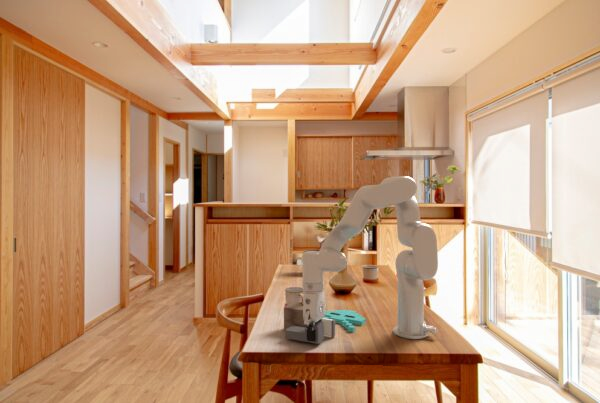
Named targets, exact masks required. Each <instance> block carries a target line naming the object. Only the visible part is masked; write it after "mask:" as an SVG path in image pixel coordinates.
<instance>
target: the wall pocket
mask: <svg viewBox="0 0 600 403" xmlns="http://www.w3.org/2000/svg"><path fill="white" fill-rule="evenodd" d="M290 326H298V327H304V318H303V305H297V304H292V303H290V304H288V305H286V306H284V307H283V332H285V330H286V329H287V328H289V327H290Z"/></svg>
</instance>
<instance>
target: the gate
mask: <svg viewBox="0 0 600 403" xmlns="http://www.w3.org/2000/svg"><path fill="white" fill-rule="evenodd" d="M309 320H312V319H309ZM322 321H323V322H324V337H325V336H326V337H331V338H335V336H336V323H335V320H334V319H333V320H332V319H326V318H322ZM304 328H305V325H304Z"/></svg>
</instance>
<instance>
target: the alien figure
mask: <svg viewBox="0 0 600 403" xmlns="http://www.w3.org/2000/svg"><path fill="white" fill-rule="evenodd" d="M323 318H326V319H332V320H333V319H334V320H335V324H340V325H341V327H343V328H344V330H347V332H348V333H354V332H356V326H355V325H357V326H360V327H361V326H364V325H365V324H366V322H367V319H366V318H365V317H363V315H360V313H358V312H357V311H356V310H348V309H341V310H339V309H335V310H326V315H325V316H324V317H323Z"/></svg>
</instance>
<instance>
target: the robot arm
mask: <svg viewBox="0 0 600 403" xmlns="http://www.w3.org/2000/svg"><path fill="white" fill-rule="evenodd" d="M417 185H418V184H417V183H416V180H414V179H413V178H412V177H410V176H407V175H400V176H399V175H398V176H390V177H386V178H385V179H383V180H381V182H380V183H379V184H378V183H377V184H371V185H363V186H361V187H360V188H358V189H357V190H356V192H355V194H354V196H353V198H352V199H351V201H350V204H349V205H348V207H347V209H346V210H345V211H344V212H345V213H344V214H343V216H342V218H341V219H340V221H338V223H337V224H336V225H335V226H334V227H333V229H331V231H330V232H329V233H328V235H327V236H326V238H325V239H324V240H323V243H322V245H321V247H320V248H319V249H318V250H319V251H307V252H304V253H302V255H301V268H302V269H301V271H302V292H303V298H302V301H303V303H302V306H303V318H304V325H305V326H306V330H307V340H308V341H313V342H315V341H316V330H314V329H315V322H317V321H320V322H323V321H322V318H323V317H324V316H325V315H326V312H327V304H326V303H327V302H326V293H325V272H326V273H327V272H329V273H339V272H342V271H343V270H344V269H346V267H347V265H348V259H347V256H346V255H345V253H344V252H342V248H343V247H344V245H346V243H347V242H348V241H349V240H350V239H352V238H353V237H356V236H357V235H359V234H360V233H362V232H363V231H364V228H365V227H366V225H367V223H368V221H369V219H370V217H371V215H372V214H373V212H374V210H381V209H385V208H389V207H392V206H393V207H394V209H395V213H396V229H397V230H396V231H397V239H398V242H399V243H400V244H401V245H403V246H405V247H409V248H412V249H404V250H402V251H400V252H399V253H398V254H397V255H396V258H395V271H396V277H397V278H396V279H397V325H396V326H394V327H393V329H392V330H393V333H394V334H395V335H396V336H398V337H400V338H404V339H407V340H409V339H410V340H421V339H425V338H427V337H428V336H429V333H431V334H436V333H437V327H434V326H433V325H427V324H426V321H425V320H424V319H425V313H424V312H425V306H424V304H425V302H424V300H425V284H424V281H429V280H431V279H433V278H434V277H435V276H436V274H437V272H438V267H439V266H438V265H439V262H438V261H439V260H438V259H439V257H438V256H439V254H438V242H437V241H438V240H437V235H436V232H435V230H434V228H433V227H432V226H431V225H430V224H427V223H424V222H422V221H421V213H420V207H419V206H420V204H419V202H418V200H417V198H416V197H415V195H416V193H417V190H418V186H417ZM309 319H312V320H309ZM309 322H312V325H311V324H310V323H309Z"/></svg>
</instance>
